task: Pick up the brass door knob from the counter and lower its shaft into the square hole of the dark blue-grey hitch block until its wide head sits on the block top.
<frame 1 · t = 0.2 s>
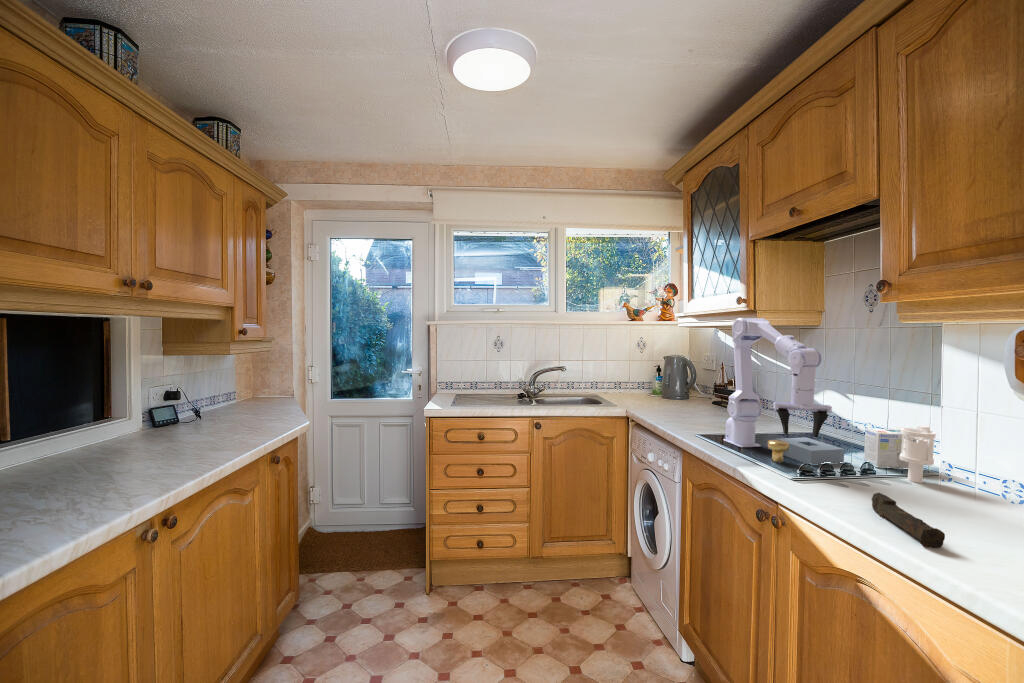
hand: (800, 435, 135), 10 cm above the countertop, tool pointing down, fingers open, 7 cm apart
light bulb box: (888, 466, 138), on the countertop
strainer: (914, 481, 126), on the countertop
brown wooden log: (897, 528, 97), on the countertop
hitch block: (807, 457, 146), on the countertop
brass door knob: (777, 461, 141), on the countertop
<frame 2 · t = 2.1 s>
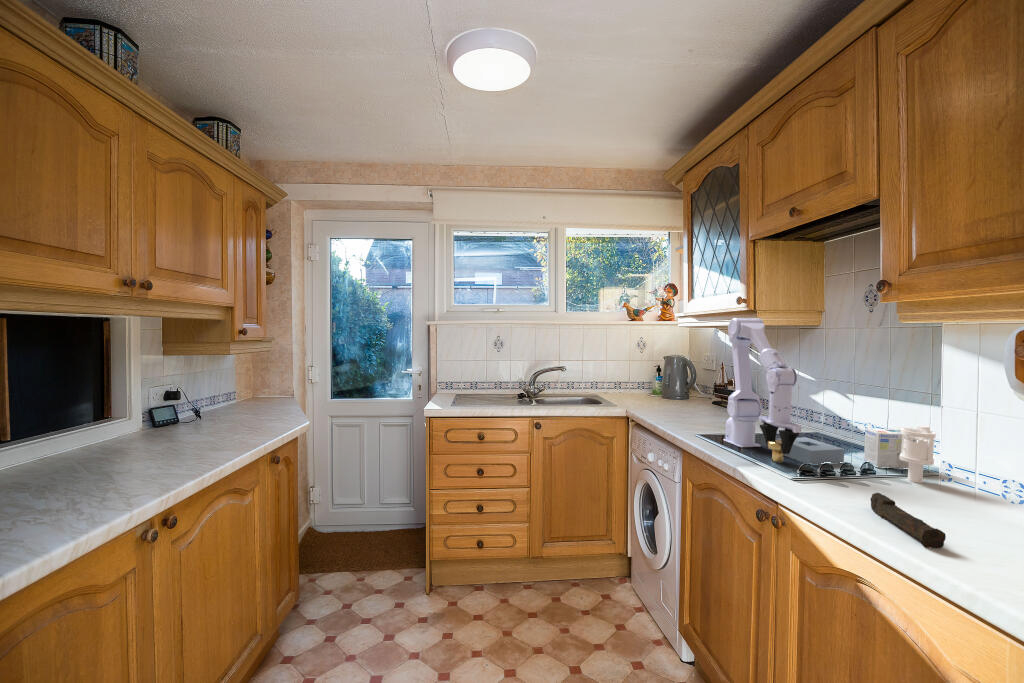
hand: (777, 450, 141), 3 cm above the countertop, tool pointing down, fingers closed on brass door knob, 6 cm apart
brass door knob: (777, 461, 141), on the countertop, touching gripper
everything else where it was.
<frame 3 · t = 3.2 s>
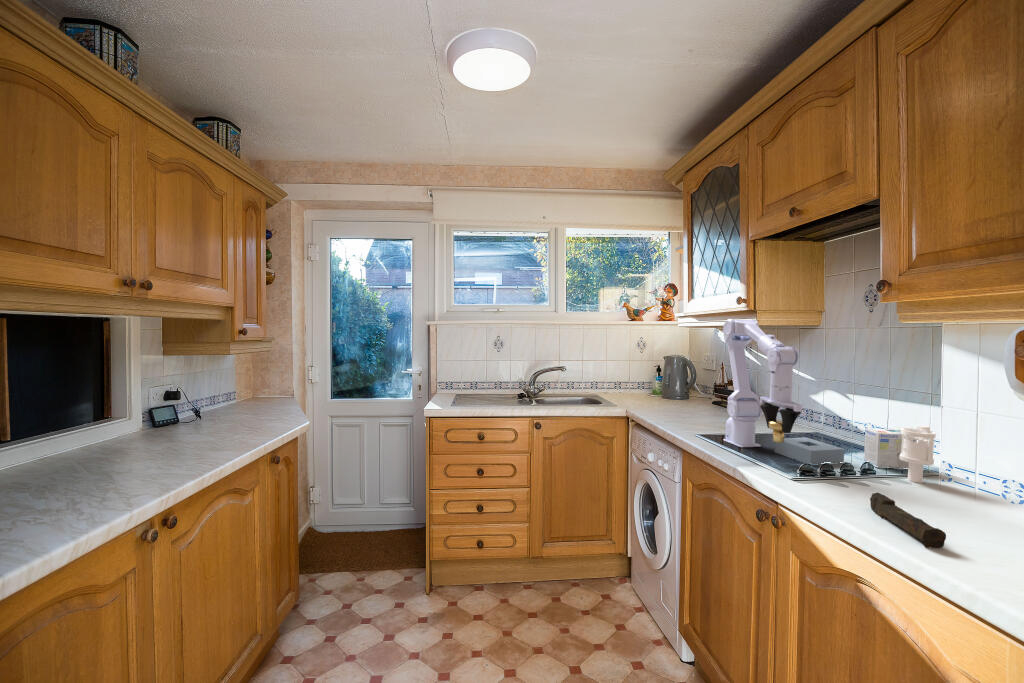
hand: (778, 430, 141), 10 cm above the countertop, tool pointing down, fingers closed on brass door knob, 6 cm apart
brass door knob: (778, 441, 141), point 6 cm above the countertop, touching gripper
everything else where it was.
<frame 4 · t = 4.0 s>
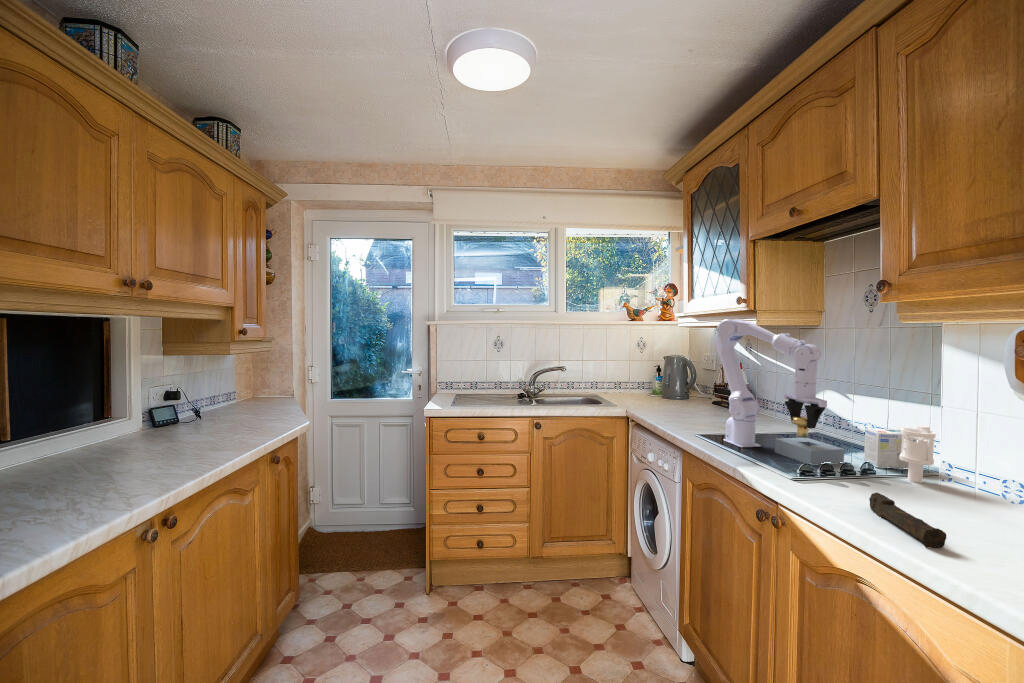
hand: (803, 425, 144), 10 cm above the countertop, tool pointing down, fingers closed on brass door knob, 6 cm apart
brass door knob: (802, 436, 144), point 7 cm above the countertop, touching gripper
everything else where it was.
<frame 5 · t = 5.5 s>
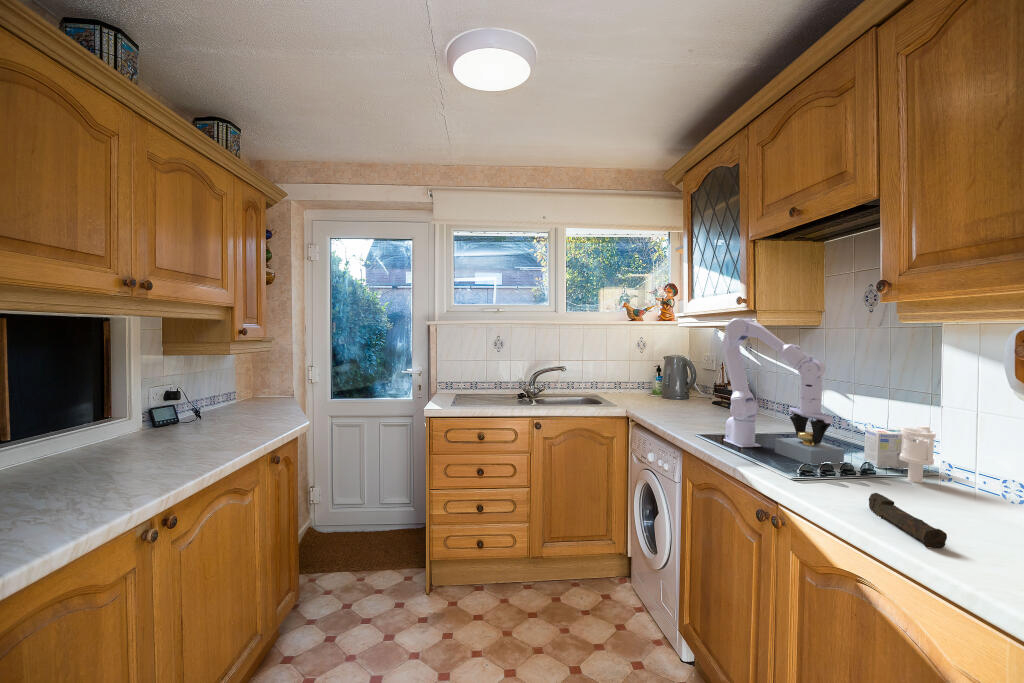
hand: (808, 440, 145), 5 cm above the countertop, tool pointing down, fingers closed on brass door knob, 6 cm apart
brass door knob: (807, 451, 145), point 2 cm above the countertop, touching gripper
everything else where it was.
when the fingers open (5 cm above the countertop, at t = 6.4 s): brass door knob drops 1 cm, resting on hitch block.
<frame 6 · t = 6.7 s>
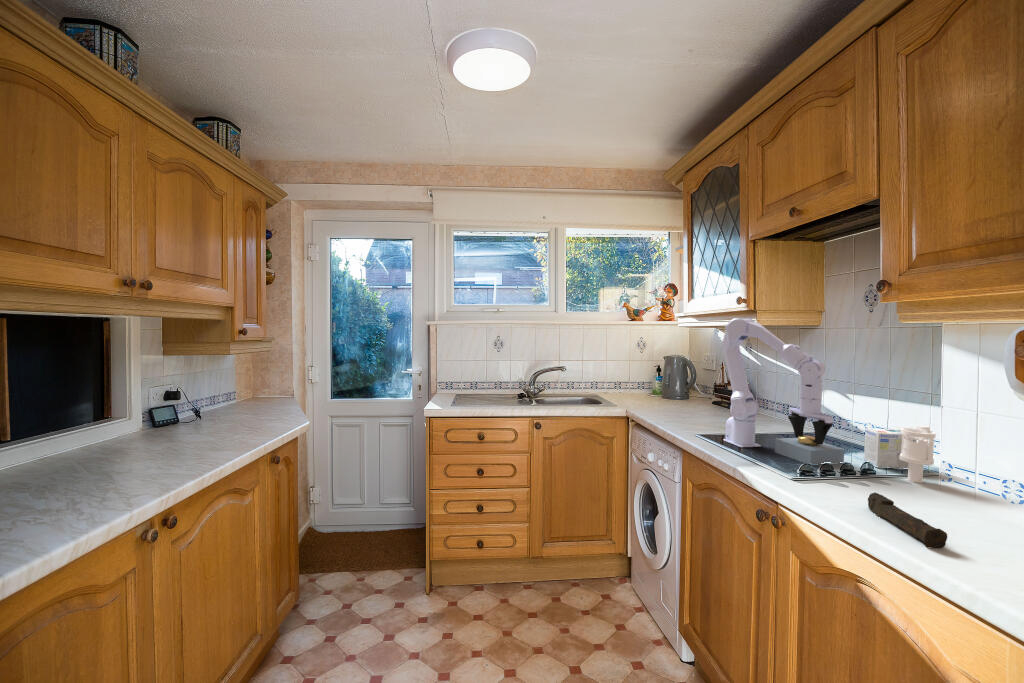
hand: (808, 440, 145), 5 cm above the countertop, tool pointing down, fingers open, 7 cm apart
brass door knob: (807, 456, 146), resting on hitch block
everything else where it was.
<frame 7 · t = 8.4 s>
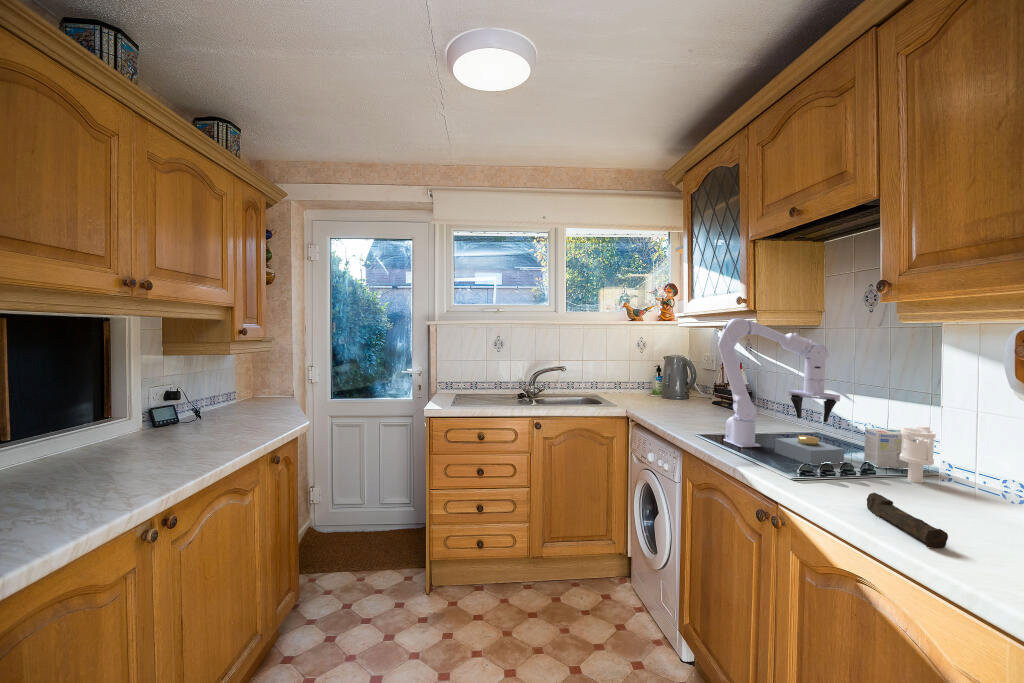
hand: (812, 419, 154), 10 cm above the countertop, tool pointing down, fingers open, 7 cm apart
nothing on the countertop moved.
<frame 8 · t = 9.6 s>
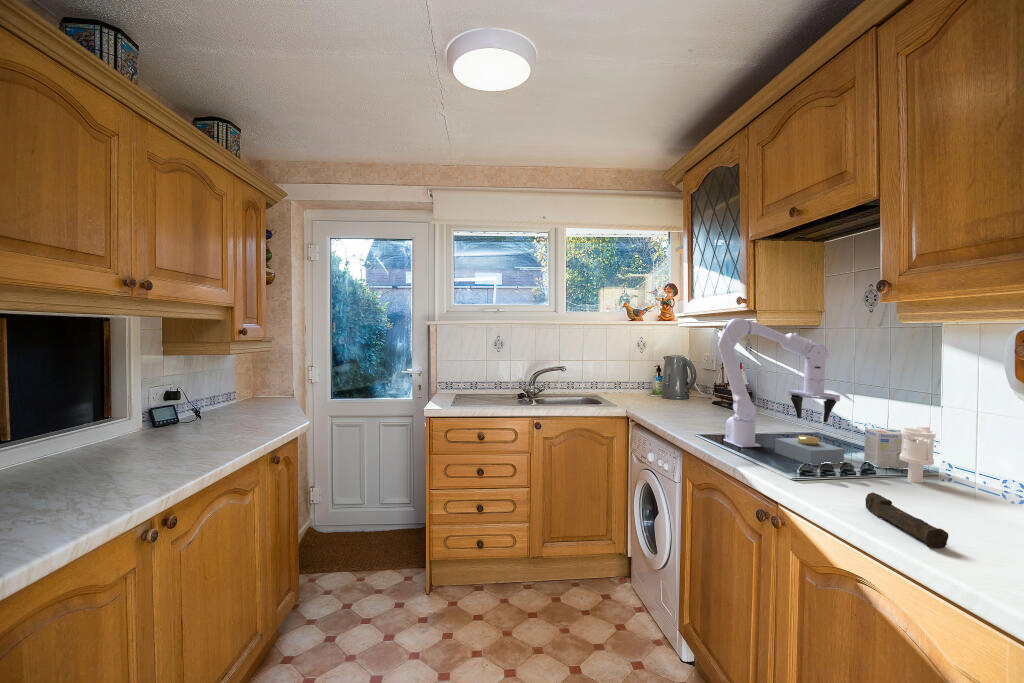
hand: (812, 419, 154), 10 cm above the countertop, tool pointing down, fingers open, 7 cm apart
nothing on the countertop moved.
at the end: brass door knob 0.1 cm off-centre on the hitch block, point 0.5 cm above the hitch block's base; brass door knob tilted 0°; the gripper is holding nothing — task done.
